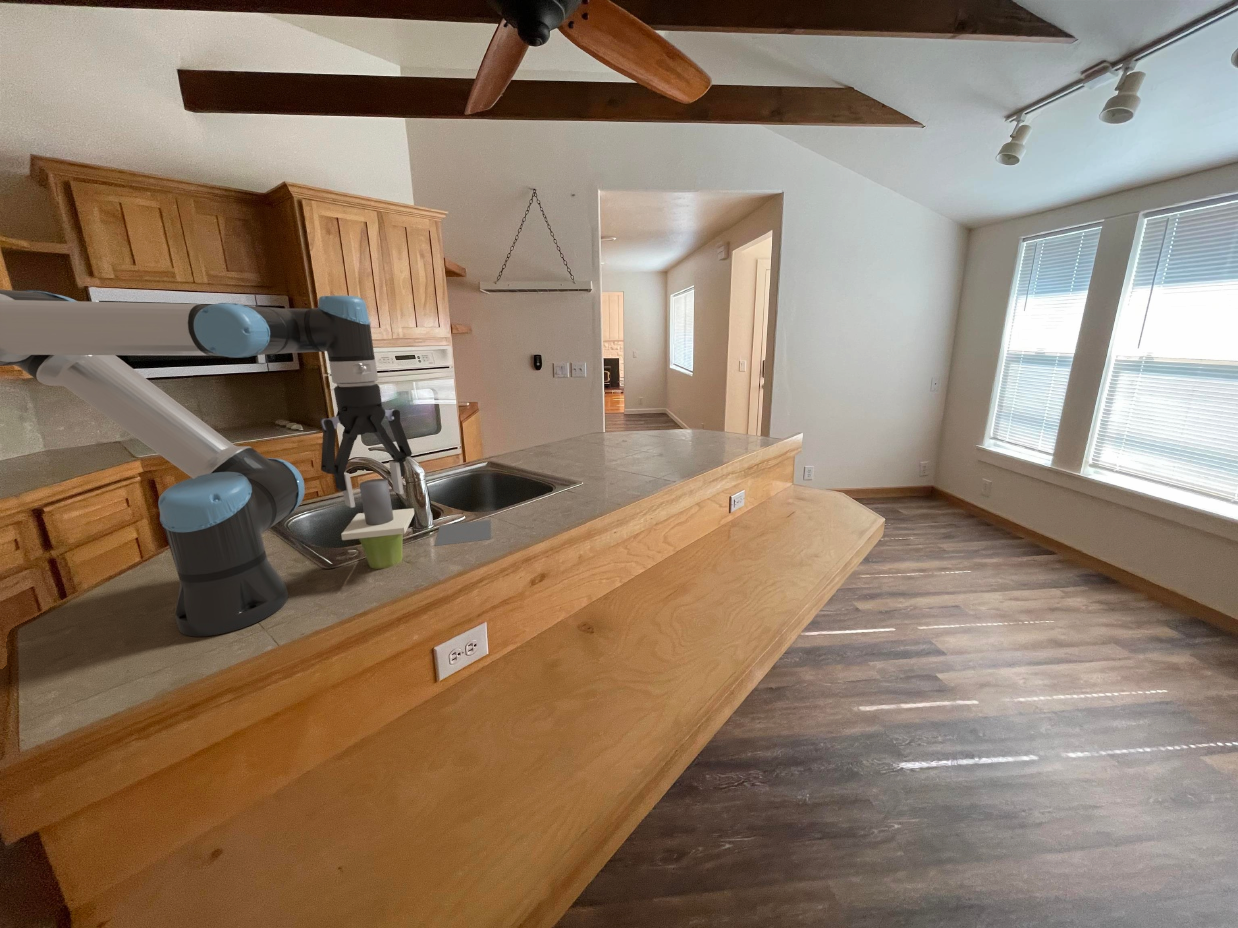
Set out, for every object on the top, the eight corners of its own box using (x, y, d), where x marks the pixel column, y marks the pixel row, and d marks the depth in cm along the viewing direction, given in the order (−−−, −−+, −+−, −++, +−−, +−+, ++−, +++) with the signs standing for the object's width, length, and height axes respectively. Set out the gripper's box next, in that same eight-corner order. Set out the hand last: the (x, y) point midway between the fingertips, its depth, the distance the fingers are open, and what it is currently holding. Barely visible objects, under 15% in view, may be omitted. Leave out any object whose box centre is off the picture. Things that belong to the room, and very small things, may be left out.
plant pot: (410, 570, 96) (404, 530, 94) (358, 579, 93) (350, 538, 91) (411, 551, 105) (406, 514, 102) (363, 559, 102) (356, 521, 99)
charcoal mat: (491, 542, 109) (490, 538, 108) (435, 549, 106) (434, 545, 106) (491, 522, 120) (490, 519, 120) (440, 528, 117) (439, 525, 117)
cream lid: (404, 533, 93) (398, 488, 90) (342, 540, 90) (333, 493, 88) (414, 513, 103) (408, 472, 101) (358, 518, 101) (351, 476, 98)
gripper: (298, 391, 79) (323, 519, 85) (421, 379, 95) (435, 488, 101) (282, 388, 83) (307, 510, 89) (402, 378, 99) (417, 482, 105)
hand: (375, 498), depth 95 cm, fingers open, 9 cm apart
